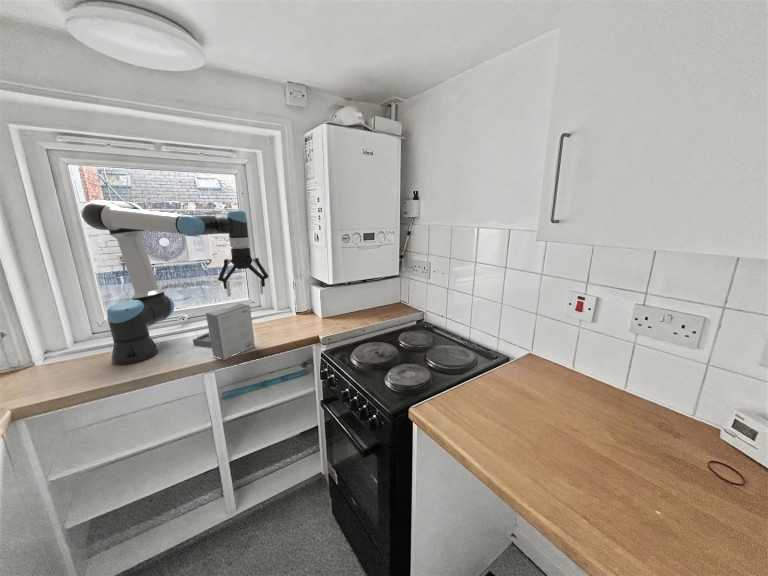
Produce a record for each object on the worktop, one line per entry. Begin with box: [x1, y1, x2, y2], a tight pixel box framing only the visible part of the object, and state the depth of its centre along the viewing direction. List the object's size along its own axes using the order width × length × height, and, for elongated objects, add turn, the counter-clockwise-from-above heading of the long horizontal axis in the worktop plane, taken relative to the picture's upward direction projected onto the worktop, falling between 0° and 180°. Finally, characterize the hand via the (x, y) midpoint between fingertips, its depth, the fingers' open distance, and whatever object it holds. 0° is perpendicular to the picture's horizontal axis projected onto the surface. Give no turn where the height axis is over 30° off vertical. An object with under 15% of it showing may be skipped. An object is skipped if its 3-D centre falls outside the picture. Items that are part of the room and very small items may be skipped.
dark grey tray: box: [192, 332, 212, 348], centre depth 145 cm, size 13×20×3 cm, turn 166°
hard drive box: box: [205, 302, 256, 361], centre depth 128 cm, size 16×8×20 cm, turn 149°
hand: (245, 294), depth 134 cm, fingers open, 13 cm apart
